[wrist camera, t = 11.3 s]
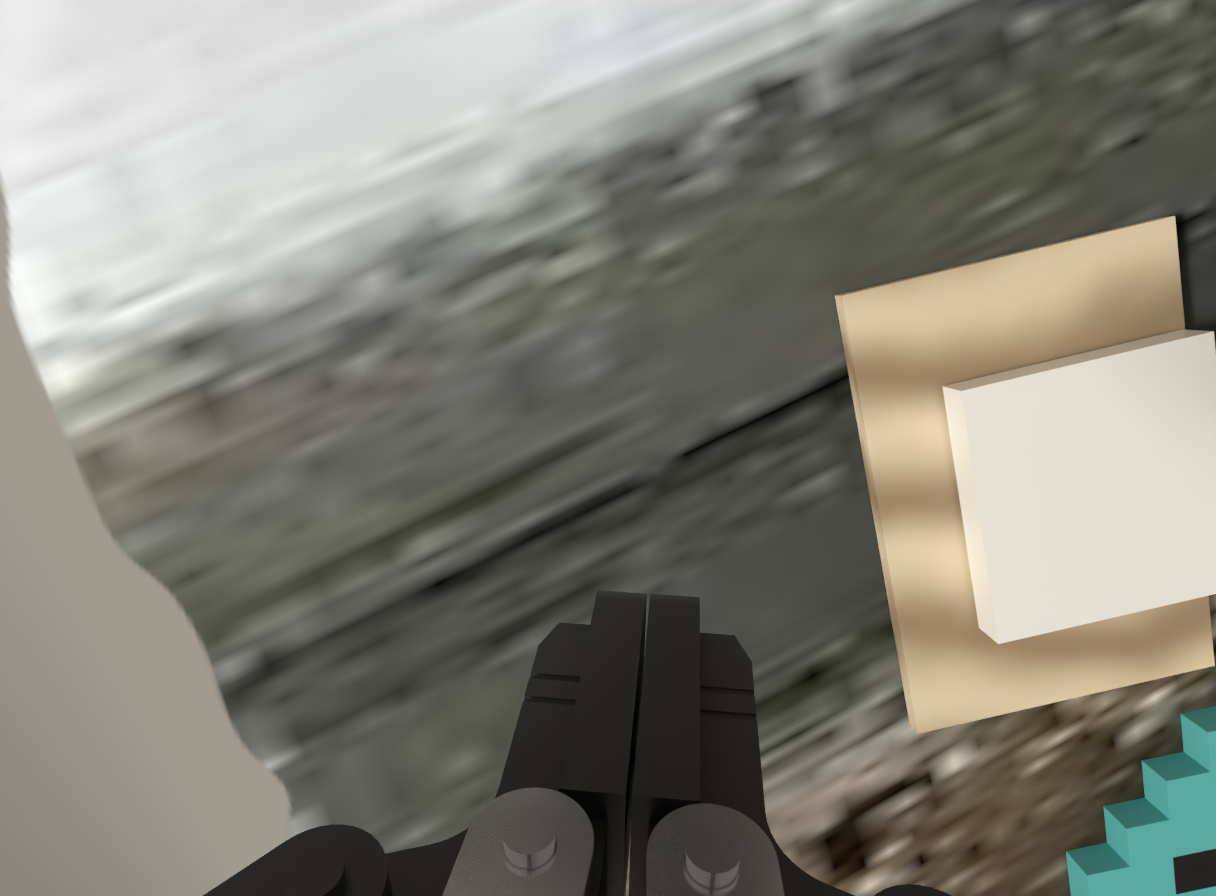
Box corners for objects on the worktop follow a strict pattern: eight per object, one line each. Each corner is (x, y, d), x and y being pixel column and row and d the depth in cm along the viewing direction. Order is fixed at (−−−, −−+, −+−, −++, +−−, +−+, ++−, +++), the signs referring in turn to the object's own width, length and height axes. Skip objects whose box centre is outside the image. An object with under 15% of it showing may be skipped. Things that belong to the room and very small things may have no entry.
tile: (961, 391, 33) (1213, 331, 33) (939, 385, 35) (1178, 329, 35) (998, 644, 36) (1234, 589, 36) (976, 625, 38) (1200, 573, 38)
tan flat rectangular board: (834, 295, 36) (841, 295, 35) (1158, 218, 35) (1175, 215, 34) (909, 723, 40) (917, 733, 39) (1199, 656, 40) (1214, 665, 39)
